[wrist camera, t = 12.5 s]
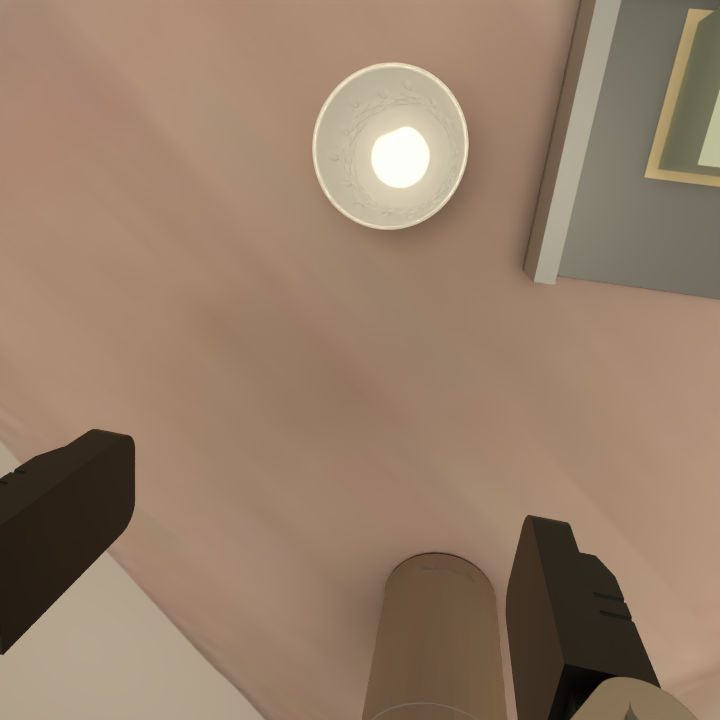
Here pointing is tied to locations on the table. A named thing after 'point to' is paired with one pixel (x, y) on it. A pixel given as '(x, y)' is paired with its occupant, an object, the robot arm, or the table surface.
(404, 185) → the white cup
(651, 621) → the table surface
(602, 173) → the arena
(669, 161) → the sage block
